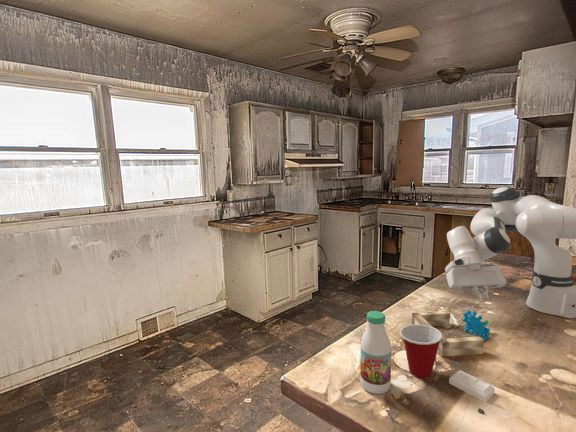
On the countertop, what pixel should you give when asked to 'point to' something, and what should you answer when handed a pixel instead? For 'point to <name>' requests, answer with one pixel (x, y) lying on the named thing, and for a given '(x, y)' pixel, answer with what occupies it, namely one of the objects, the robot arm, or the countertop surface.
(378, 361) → the milk bottle
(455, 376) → the soap bar
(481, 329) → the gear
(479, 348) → the carrier pocket
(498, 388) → the countertop surface
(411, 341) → the plastic cup
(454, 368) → the countertop surface
